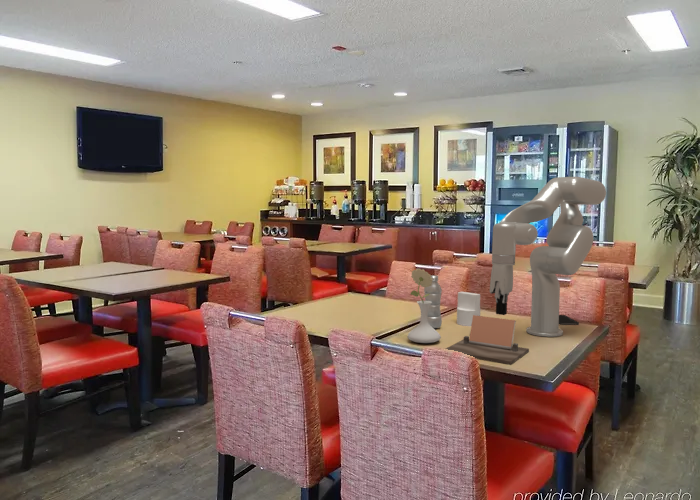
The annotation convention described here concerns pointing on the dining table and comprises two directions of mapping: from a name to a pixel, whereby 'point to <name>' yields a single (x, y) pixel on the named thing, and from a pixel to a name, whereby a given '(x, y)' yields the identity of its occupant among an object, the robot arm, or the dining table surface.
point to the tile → (492, 332)
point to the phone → (567, 320)
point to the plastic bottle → (434, 302)
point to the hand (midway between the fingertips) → (501, 314)
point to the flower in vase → (423, 311)
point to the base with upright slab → (467, 308)
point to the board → (489, 351)
